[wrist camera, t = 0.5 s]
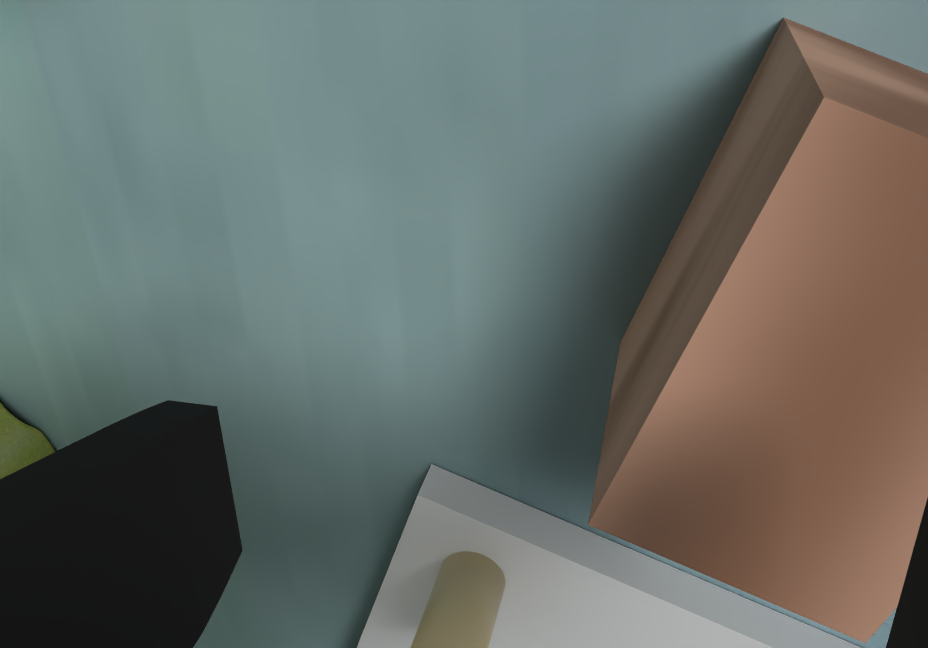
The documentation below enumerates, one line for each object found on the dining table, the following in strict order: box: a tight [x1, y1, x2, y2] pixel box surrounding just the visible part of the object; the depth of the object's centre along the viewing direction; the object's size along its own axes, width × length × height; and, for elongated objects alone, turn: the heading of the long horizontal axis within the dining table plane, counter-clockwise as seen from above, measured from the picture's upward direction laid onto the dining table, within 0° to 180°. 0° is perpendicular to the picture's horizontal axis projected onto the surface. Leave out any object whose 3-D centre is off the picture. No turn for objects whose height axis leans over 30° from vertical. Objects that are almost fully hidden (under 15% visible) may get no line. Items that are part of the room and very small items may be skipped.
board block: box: [588, 18, 928, 643], centre depth 14 cm, size 4×7×6 cm, turn 162°
